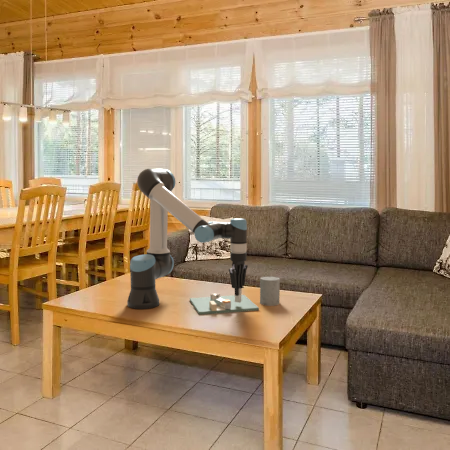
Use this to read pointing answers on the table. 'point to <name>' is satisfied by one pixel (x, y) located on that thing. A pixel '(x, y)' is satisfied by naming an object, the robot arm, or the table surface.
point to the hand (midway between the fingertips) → (238, 301)
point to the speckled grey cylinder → (269, 290)
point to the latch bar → (220, 301)
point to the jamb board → (210, 307)
